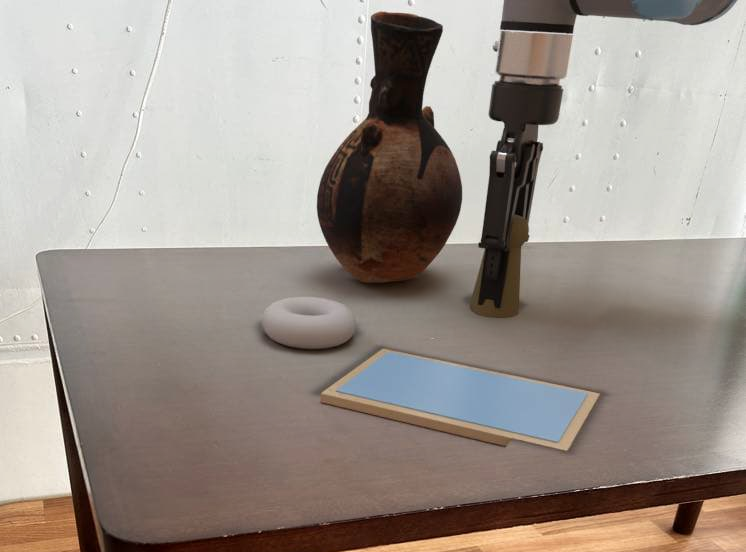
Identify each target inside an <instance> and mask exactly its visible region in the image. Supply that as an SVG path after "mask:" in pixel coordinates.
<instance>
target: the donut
mask: <svg viewBox="0 0 746 552" xmlns="http://www.w3.org/2000/svg"><path fill="white" fill-rule="evenodd" d="M261 324H262V328H263V330H264V332H265V333H266V335H267V336H268V337H269V338H270V339H271V340H273V341H274V342H276V343H278V344H280V345H284V346H287V347H290V348H296V349H302V350H324V349H329V348H334V347H338V346H340V345H342V344H345V343H347V342H348V341H349V340H350V339H351V338H352V337H353V336H354V334H355V332H356V328H357V324H356V316H355V314H354V313H353V312H352V310H351V309H350V308H349V307H348V306H346V305H345V304H343V303H341V302H339V301H336V300H332V299H329V298H325V297H324V298H323V297H317V296H293V297H287V298H282V299H280V300H277V301H274V302H273V303H271V304H270V305H269V306H267V308H265V310H264V312H263V315H262V320H261Z"/></svg>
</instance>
